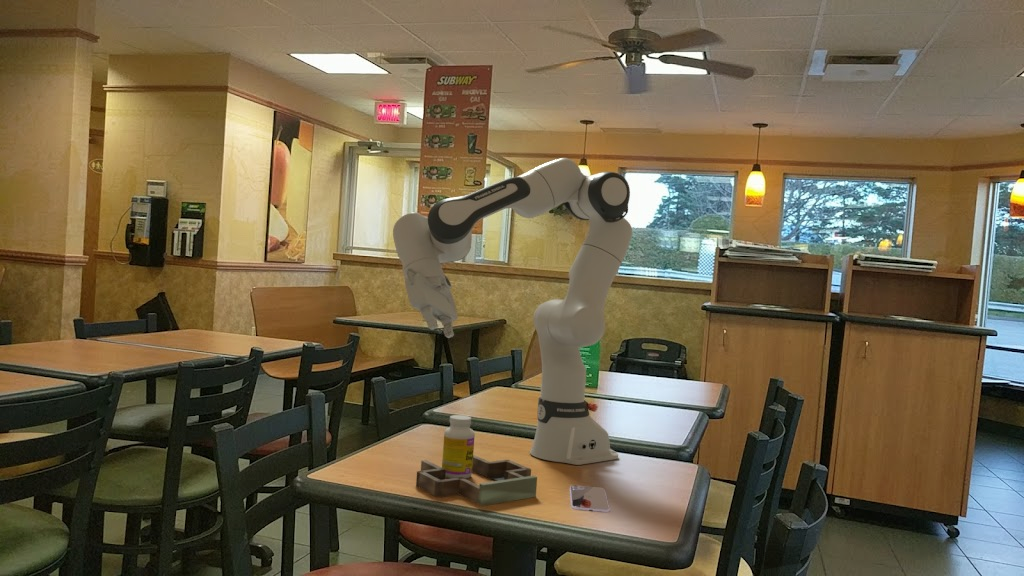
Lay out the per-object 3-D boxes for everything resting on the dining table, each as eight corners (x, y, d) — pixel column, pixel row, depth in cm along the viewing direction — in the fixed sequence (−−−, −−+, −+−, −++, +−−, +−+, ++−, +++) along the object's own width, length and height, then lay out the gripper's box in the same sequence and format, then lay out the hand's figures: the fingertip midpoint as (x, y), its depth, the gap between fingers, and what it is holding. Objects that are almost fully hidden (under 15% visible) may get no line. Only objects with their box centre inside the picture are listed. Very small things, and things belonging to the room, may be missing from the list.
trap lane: (400, 477, 153) (401, 458, 153) (489, 465, 168) (490, 448, 168) (459, 509, 135) (461, 488, 135) (554, 493, 149) (555, 474, 149)
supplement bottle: (467, 481, 154) (471, 421, 153) (437, 477, 155) (441, 418, 155) (475, 473, 160) (479, 416, 160) (446, 470, 161) (450, 412, 161)
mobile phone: (571, 506, 140) (569, 483, 155) (571, 511, 140) (569, 488, 155) (610, 509, 140) (604, 486, 154) (610, 514, 140) (604, 491, 154)
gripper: (418, 259, 157) (436, 317, 152) (453, 284, 175) (470, 335, 171) (392, 271, 158) (409, 328, 153) (430, 294, 177) (446, 345, 172)
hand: (442, 332), depth 162 cm, fingers open, 8 cm apart
